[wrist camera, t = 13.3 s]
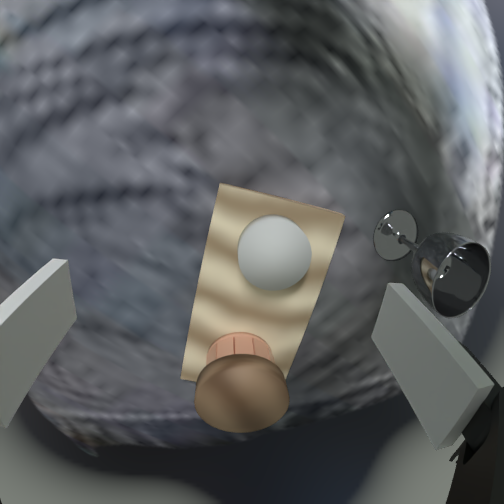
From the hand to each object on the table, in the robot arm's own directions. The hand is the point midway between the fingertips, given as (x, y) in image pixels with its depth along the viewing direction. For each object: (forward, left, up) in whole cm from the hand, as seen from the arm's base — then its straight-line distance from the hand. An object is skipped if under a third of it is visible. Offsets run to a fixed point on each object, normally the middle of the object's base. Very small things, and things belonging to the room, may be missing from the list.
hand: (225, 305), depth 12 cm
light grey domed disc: (-2, +8, -24) cm, 25 cm away
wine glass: (-18, +14, -26) cm, 34 cm away
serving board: (+3, +14, -26) cm, 29 cm away
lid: (+8, +21, -18) cm, 29 cm away
